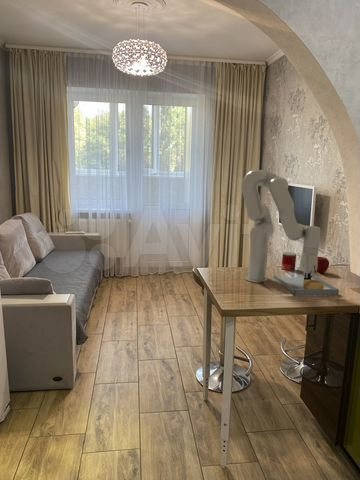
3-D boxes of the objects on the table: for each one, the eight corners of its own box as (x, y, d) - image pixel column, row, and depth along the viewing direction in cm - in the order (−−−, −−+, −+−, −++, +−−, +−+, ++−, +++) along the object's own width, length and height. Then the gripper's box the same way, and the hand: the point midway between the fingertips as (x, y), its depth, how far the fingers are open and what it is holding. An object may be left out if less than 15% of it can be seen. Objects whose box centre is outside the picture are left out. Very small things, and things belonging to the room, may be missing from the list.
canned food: (293, 273, 217) (294, 255, 215) (279, 271, 221) (281, 253, 219) (296, 270, 224) (297, 253, 221) (282, 268, 227) (284, 251, 225)
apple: (328, 272, 223) (330, 256, 221) (327, 276, 214) (329, 259, 212) (312, 269, 226) (313, 254, 224) (310, 273, 218) (312, 257, 216)
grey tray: (273, 279, 203) (273, 274, 203) (312, 279, 207) (312, 274, 206) (294, 296, 178) (295, 290, 177) (338, 295, 182) (338, 289, 181)
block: (303, 288, 187) (303, 279, 186) (315, 287, 188) (316, 279, 187) (309, 292, 180) (310, 284, 179) (322, 292, 181) (324, 283, 180)
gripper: (296, 247, 193) (293, 280, 196) (311, 253, 178) (307, 289, 182) (310, 247, 194) (306, 280, 197) (325, 253, 179) (321, 289, 183)
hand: (306, 284), depth 190 cm, fingers closed
